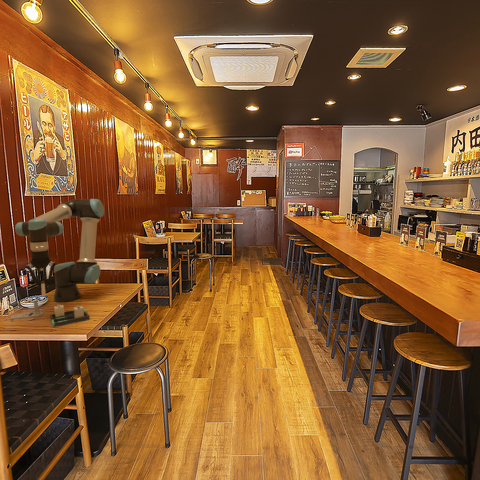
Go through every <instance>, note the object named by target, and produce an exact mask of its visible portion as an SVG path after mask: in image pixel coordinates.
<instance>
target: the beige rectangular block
mask: <svg viewBox="0 0 480 480" xmlns="http://www.w3.org/2000/svg"><path fill="white" fill-rule="evenodd" d="M53 309H54V314H55V317H58V316H63V315H65V314H64V312H65V307H64V305H63V304H59V303H58V304H57V305H54V306H53Z"/></svg>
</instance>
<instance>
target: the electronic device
mask: <svg viewBox="0 0 480 480" xmlns="http://www.w3.org/2000/svg"><path fill="white" fill-rule="evenodd" d="M33 310H34V311H33V312H26V313H18V314H14V315H13V314H12V316H10V321H11V322H12V323H13V322H14V320H23V319H34V318H41V317H42V316H44V312H43V311H41V310H40V308H39V302H38V300H33Z"/></svg>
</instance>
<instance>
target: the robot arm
mask: <svg viewBox="0 0 480 480" xmlns="http://www.w3.org/2000/svg"><path fill="white" fill-rule="evenodd" d="M104 215H105V207H104V204H103V202H102V201H101V200H100V199H98V198H76V199H75V198H74V199H71V200H68V201H65V202H63V203H61V204H59V205H57V207H56V208H54V209H52V210H50V211H48V212H46V213H43V214H41V215H38V216H37V217H34V218H32V219H30V220H28V221H20V222H17V223H16V224H15V226H14V227H15V228H14V230H15V233H16V235H17V236H21V237H29V245H30V256H31V259H30V263H29V264H26V265H25V268H26V269H27V270H28V272H29V274H30V276H31V280H32V281H33V283H34V284H37V285H38V286H37V287H38V290H39V291H41V297H42V298H43V297H46V296H47V295H46V290H48V283H49V282H51V281H52V278H53V274H54V281H55V282H54V283H55V290H54V294H53V301H54V302H56V303H67V302H72V301H76V300H78V299H80V298H81V295H82V294H81V292H80V289H79V287H78V284H94V283H96V282H97V281H98V279H99V278H100V276H101V267H100V265H99V264H98V262H97V260H96V258H95V257H96V247H97V246H96V243H97V233H98V223H99V222H100V220H101V218H102V217H104ZM71 218H79V219H80V220H81V222H82V223H81V236H80V247H79V248H80V249H79V259H78V260H76V262H75V261H68V262H62V263H58V264H56V261H51V260H52V259H50V251H49V240H48V239H49V237H57V236H60V235H62V234H63V232H64V229H65V227H64V225H63V224H62V223H61V222H60V221H62V220H64V219H65V220H68V219H71ZM48 266H50V267H49V273H48V277H47V268H48ZM32 267H34V268H35V269H36V275H37V279H36V277H35V275H34V272H33V269H32ZM41 269H42V271H43V272H42V273H43V274H42V275H43V282H42V279H41V278H42V277H41Z"/></svg>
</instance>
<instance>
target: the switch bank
mask: <svg viewBox="0 0 480 480" xmlns="http://www.w3.org/2000/svg"><path fill="white" fill-rule="evenodd" d="M83 309H84V317H79V318H74V309H72V310H67V311H64V314H65V315H63V316H58V317H55V313H52V314H49V318H50V321H51V325H52V327H53V328H58V327H60V326H61V327H62V326H66V325H72V324H75V323H78V322H85V321H89V320H90V315H89V314H88V312H87V311H86V309H85V307H83Z"/></svg>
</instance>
